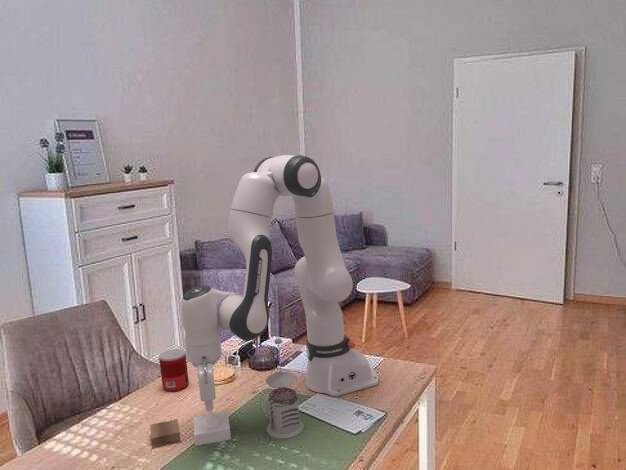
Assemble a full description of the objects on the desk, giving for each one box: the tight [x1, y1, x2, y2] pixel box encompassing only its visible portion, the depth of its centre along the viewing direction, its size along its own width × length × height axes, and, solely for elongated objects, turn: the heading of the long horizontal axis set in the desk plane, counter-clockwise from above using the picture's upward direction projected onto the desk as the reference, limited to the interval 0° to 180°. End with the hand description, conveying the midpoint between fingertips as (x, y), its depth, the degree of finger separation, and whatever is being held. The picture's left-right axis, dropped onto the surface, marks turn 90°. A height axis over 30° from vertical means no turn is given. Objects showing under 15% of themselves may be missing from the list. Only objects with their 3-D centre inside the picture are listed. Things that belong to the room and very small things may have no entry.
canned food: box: [158, 348, 190, 393], centre depth 165 cm, size 8×8×11 cm
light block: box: [193, 411, 232, 447], centre depth 138 cm, size 9×9×3 cm
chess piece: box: [201, 402, 220, 428], centre depth 137 cm, size 5×5×10 cm
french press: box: [259, 337, 305, 439], centre depth 136 cm, size 10×12×25 cm
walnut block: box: [149, 418, 181, 449], centre depth 138 cm, size 7×7×3 cm
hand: (208, 400), depth 137 cm, fingers open, 8 cm apart
